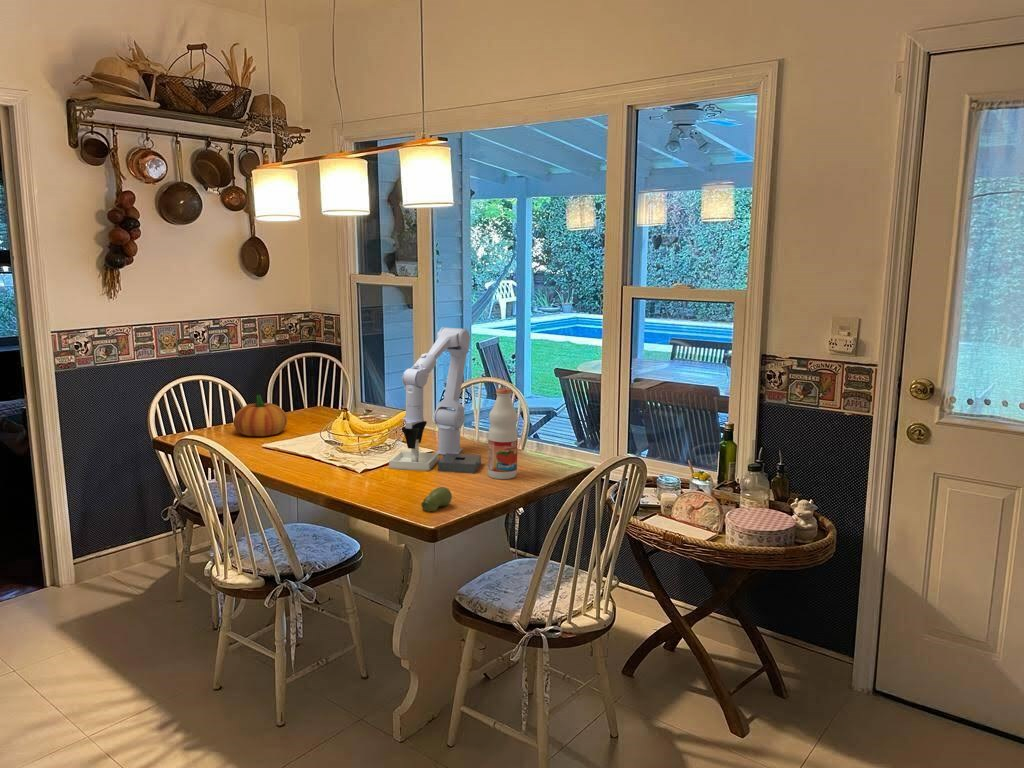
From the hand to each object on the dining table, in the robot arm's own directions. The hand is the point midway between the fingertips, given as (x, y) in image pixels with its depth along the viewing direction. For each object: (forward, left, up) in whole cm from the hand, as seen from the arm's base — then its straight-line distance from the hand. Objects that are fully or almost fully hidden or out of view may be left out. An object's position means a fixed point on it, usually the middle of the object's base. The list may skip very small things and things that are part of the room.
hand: (414, 445), depth 258 cm
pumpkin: (-30, -68, -7) cm, 75 cm away
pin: (0, 0, -6) cm, 6 cm away
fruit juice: (+7, +30, -7) cm, 32 cm away
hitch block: (0, +16, -6) cm, 17 cm away
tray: (0, 0, -6) cm, 6 cm away
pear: (+42, +18, -7) cm, 46 cm away
